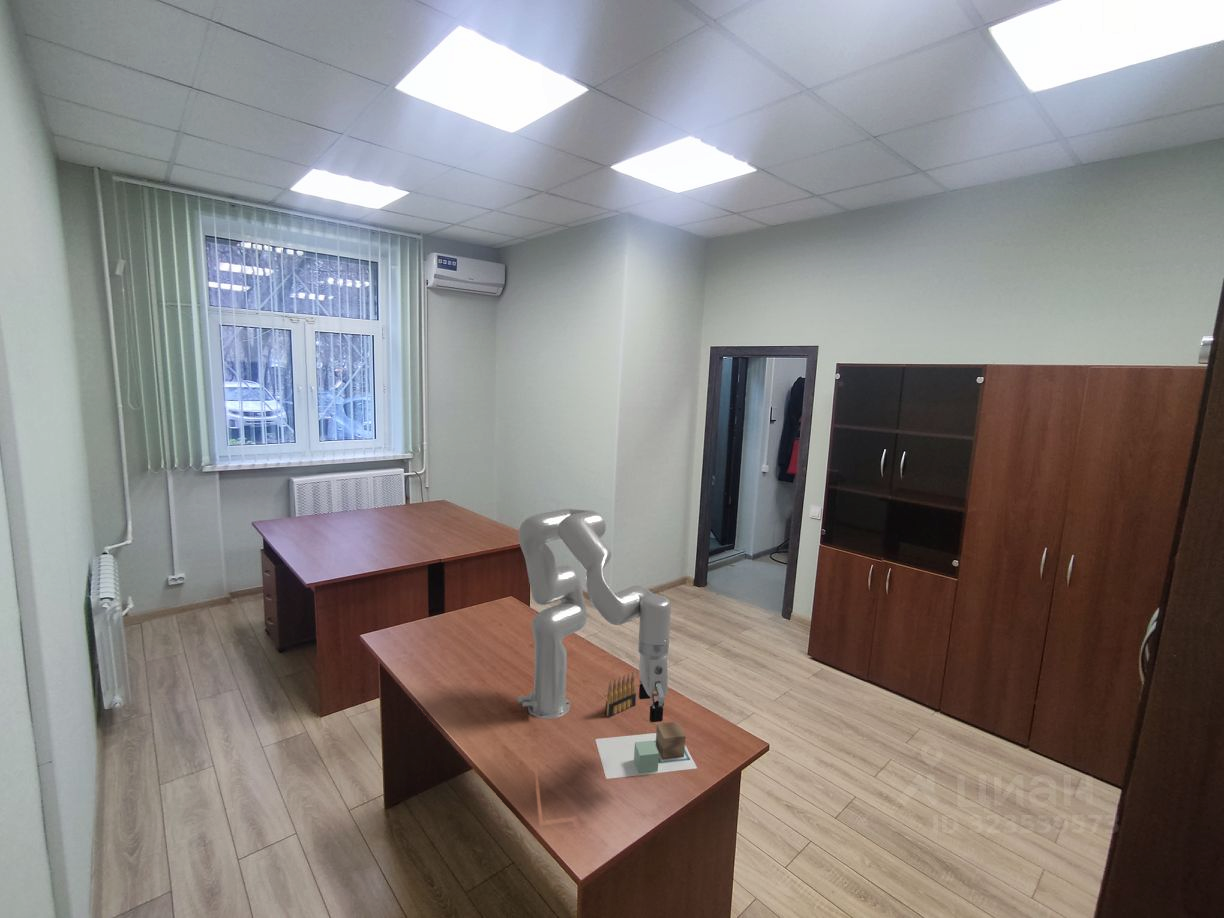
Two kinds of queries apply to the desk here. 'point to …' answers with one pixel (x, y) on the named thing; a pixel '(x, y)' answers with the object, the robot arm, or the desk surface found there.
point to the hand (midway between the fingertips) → (650, 709)
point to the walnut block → (670, 740)
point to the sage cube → (646, 757)
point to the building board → (621, 757)
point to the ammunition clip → (621, 695)
